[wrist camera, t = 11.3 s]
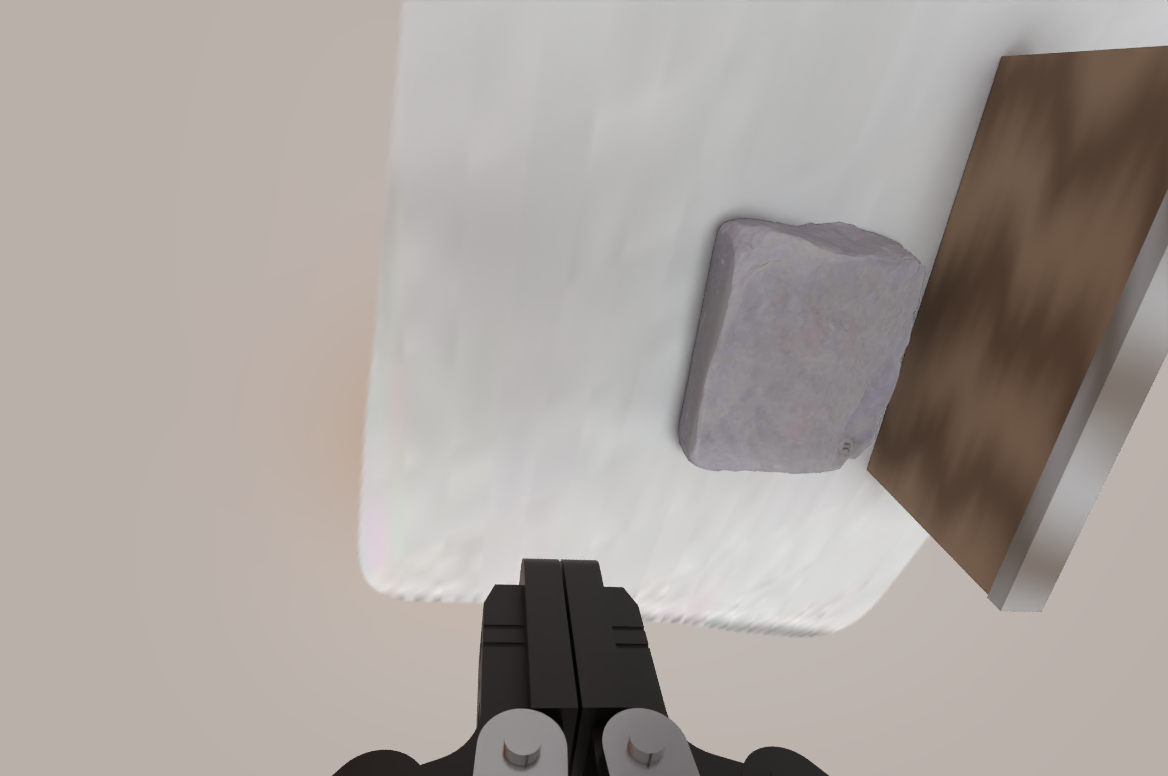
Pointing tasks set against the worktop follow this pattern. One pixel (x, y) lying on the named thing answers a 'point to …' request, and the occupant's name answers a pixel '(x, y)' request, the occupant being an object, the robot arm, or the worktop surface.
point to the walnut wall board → (1037, 319)
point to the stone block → (796, 346)
